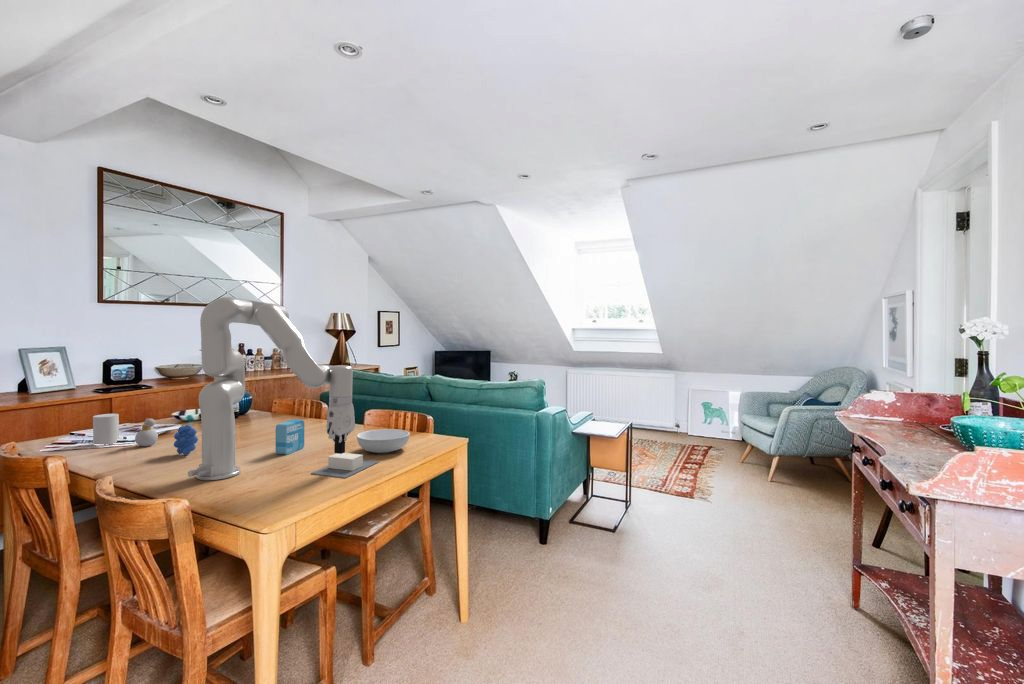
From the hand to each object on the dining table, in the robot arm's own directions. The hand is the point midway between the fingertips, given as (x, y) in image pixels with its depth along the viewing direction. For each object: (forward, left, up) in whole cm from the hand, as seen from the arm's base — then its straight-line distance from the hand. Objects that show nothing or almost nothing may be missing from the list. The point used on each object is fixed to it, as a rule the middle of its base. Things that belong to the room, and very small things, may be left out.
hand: (339, 452), depth 162 cm
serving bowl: (+28, +1, -7) cm, 29 cm away
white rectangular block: (0, 0, -4) cm, 4 cm away
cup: (-2, +114, -6) cm, 115 cm away
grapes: (-3, +68, -6) cm, 68 cm away
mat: (+3, 0, -6) cm, 7 cm away
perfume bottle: (+1, +95, -6) cm, 95 cm away
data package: (+14, +35, -6) cm, 38 cm away
